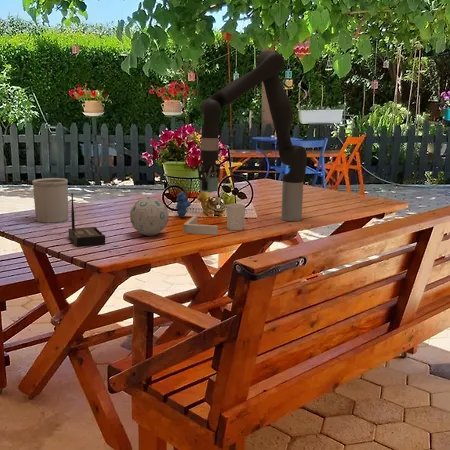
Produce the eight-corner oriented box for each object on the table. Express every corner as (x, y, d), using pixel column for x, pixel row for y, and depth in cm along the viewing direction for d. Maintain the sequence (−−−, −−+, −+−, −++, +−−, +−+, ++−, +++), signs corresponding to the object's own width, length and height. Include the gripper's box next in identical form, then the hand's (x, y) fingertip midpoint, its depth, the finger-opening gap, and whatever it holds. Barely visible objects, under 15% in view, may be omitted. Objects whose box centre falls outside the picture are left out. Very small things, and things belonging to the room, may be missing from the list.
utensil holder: (26, 220, 267) (24, 180, 264) (51, 215, 280) (49, 176, 276) (52, 224, 261) (50, 183, 257) (76, 218, 274) (75, 179, 270)
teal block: (199, 190, 258) (199, 177, 257) (206, 189, 262) (207, 176, 261) (210, 192, 255) (210, 179, 254) (217, 190, 259) (218, 177, 258)
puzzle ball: (150, 228, 256) (149, 193, 253) (176, 234, 247) (176, 197, 243) (122, 235, 245) (121, 197, 241) (149, 241, 235) (148, 202, 232)
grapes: (194, 219, 276) (194, 192, 273) (180, 220, 274) (180, 193, 271) (187, 214, 287) (187, 188, 284) (173, 214, 284) (173, 189, 282)
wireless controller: (110, 245, 230) (109, 199, 227) (72, 248, 225) (70, 202, 221) (97, 233, 248) (96, 191, 244) (62, 236, 242) (60, 193, 239)
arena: (193, 224, 266) (193, 216, 265) (225, 226, 263) (225, 218, 262) (183, 233, 250) (183, 224, 249) (217, 235, 247) (217, 226, 246)
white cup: (223, 227, 261) (223, 204, 259) (240, 226, 264) (241, 203, 261) (230, 231, 254) (230, 207, 251) (247, 230, 256) (248, 206, 254)
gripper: (207, 150, 247) (206, 192, 250) (226, 148, 259) (225, 188, 262) (192, 149, 251) (191, 190, 254) (211, 147, 263) (210, 186, 266)
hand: (208, 189), depth 258 cm, fingers closed on teal block, 5 cm apart
